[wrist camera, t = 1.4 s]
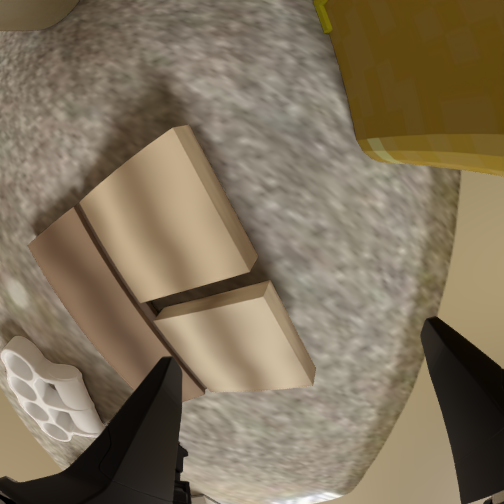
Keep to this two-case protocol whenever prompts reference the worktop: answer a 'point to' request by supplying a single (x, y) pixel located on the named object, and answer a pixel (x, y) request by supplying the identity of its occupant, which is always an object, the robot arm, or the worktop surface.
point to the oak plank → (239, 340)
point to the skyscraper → (202, 500)
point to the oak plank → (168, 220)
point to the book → (423, 79)
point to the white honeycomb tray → (50, 392)
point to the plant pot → (33, 13)
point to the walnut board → (105, 301)
